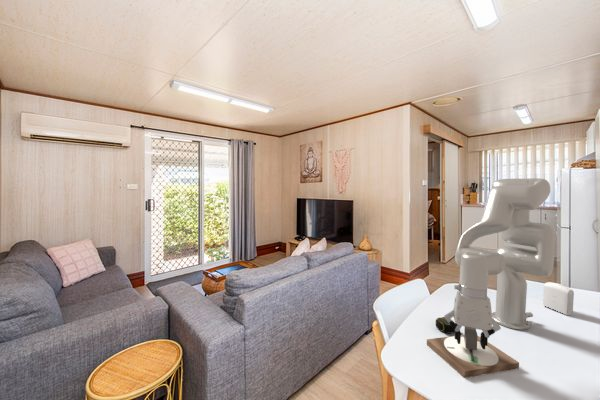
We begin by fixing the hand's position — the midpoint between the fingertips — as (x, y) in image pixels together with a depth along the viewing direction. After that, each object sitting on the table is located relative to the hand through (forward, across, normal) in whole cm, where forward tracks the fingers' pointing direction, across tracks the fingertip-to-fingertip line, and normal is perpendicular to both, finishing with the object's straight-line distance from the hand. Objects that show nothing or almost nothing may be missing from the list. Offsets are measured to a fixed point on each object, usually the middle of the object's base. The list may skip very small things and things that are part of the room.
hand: (470, 343), depth 85 cm
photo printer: (+4, +44, +54) cm, 70 cm away
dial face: (+2, 0, 0) cm, 2 cm away
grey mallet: (+2, 0, -2) cm, 3 cm away
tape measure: (+5, -5, +15) cm, 17 cm away
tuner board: (+4, 0, 0) cm, 4 cm away
